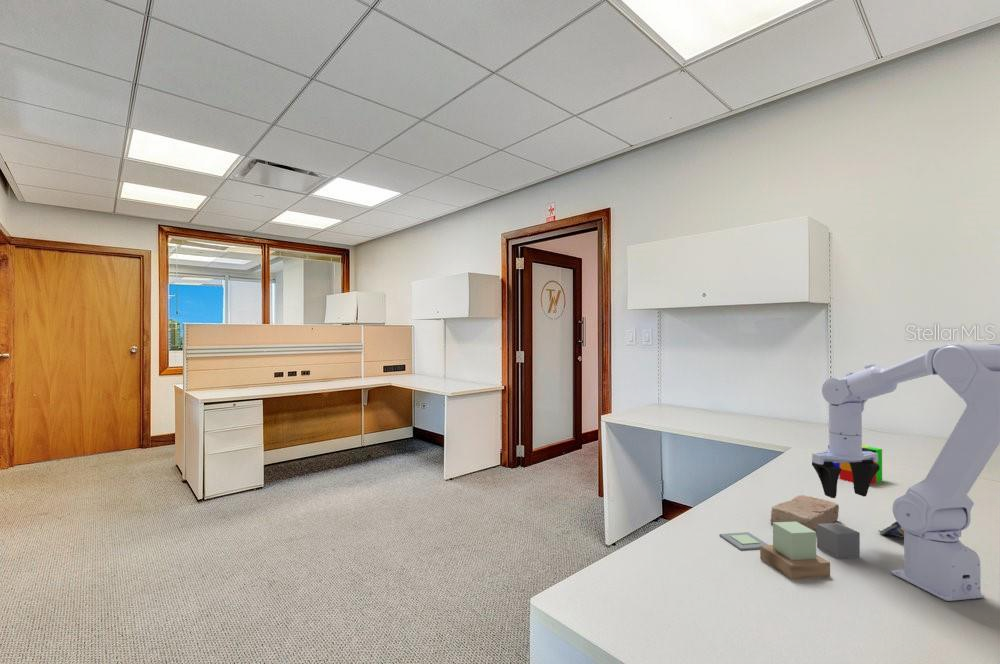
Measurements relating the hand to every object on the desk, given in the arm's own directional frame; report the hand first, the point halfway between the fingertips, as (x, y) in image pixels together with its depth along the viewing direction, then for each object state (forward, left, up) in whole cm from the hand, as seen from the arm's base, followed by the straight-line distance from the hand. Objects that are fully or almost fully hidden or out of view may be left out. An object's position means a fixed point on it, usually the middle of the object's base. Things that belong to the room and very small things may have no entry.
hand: (845, 495), depth 99 cm
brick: (+10, 0, -10) cm, 15 cm away
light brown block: (-8, +20, -10) cm, 24 cm away
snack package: (-1, -17, -10) cm, 20 cm away
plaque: (+3, +22, -10) cm, 24 cm away
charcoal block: (-4, +6, -10) cm, 12 cm away
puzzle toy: (+39, -44, -10) cm, 60 cm away
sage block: (-8, +20, -7) cm, 23 cm away
